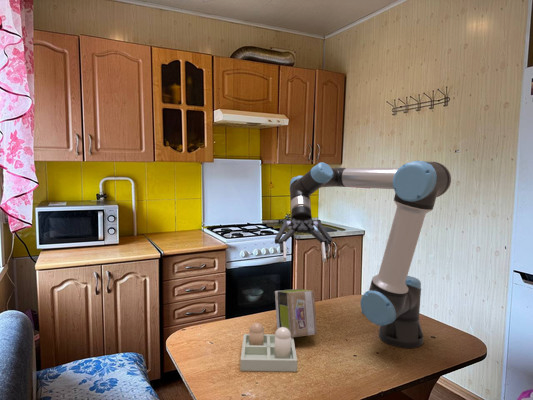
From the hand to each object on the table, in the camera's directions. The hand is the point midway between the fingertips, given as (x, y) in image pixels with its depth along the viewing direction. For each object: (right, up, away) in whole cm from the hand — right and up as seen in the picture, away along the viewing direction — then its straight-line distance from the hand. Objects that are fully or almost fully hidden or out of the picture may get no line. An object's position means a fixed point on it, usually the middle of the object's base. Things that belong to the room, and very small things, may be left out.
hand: (304, 260), depth 127 cm
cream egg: (-8, -30, -10) cm, 32 cm away
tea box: (-5, -21, +15) cm, 26 cm away
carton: (-12, -30, -7) cm, 33 cm away
